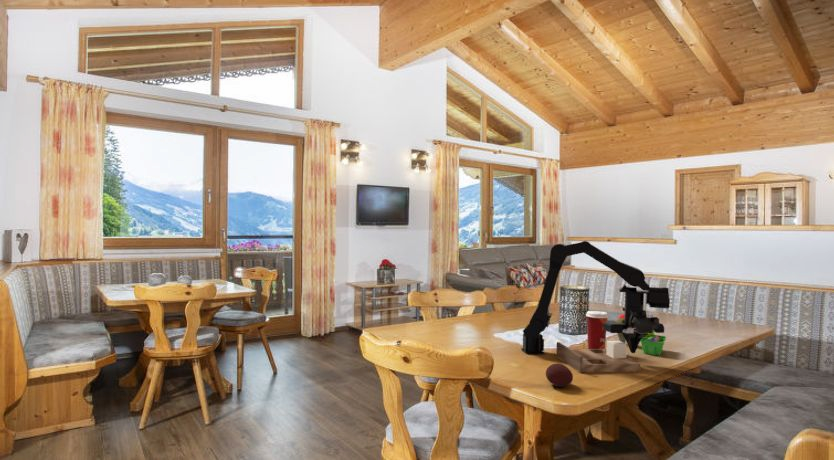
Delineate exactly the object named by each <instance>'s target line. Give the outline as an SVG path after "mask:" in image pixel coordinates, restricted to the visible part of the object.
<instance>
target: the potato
mask: <svg viewBox="0 0 834 460" xmlns="http://www.w3.org/2000/svg"><path fill="white" fill-rule="evenodd" d="M545 370H546V371H545V377H546V379H547V381H548V382H549V384H551V385H553V386H555V387H558V388H564V387H567V386H569V385H570V384H571V383H572V382H573V379H574V376H573V372H572V371H571V370H570V368H568V367H567V366H566V365H564V364H562V363H559V362H558V363H552V364H550V365H549V366H548V367H547V368H546V369H545Z"/></svg>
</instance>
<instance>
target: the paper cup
mask: <svg viewBox="0 0 834 460" xmlns="http://www.w3.org/2000/svg"><path fill="white" fill-rule="evenodd" d="M585 316H586V330H587V331H586V333H587V349H606V342H607V339H606V338H607V331H605V330H603V324H604V323H605V322H608V318H609V316H608V313H607V312H606V311H601V310H588V311H587V312H586V314H585Z"/></svg>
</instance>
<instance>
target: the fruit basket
mask: <svg viewBox="0 0 834 460" xmlns="http://www.w3.org/2000/svg"><path fill="white" fill-rule="evenodd" d="M647 334H648V335H646V336H644V337H643V338H642V339H641V341H640V342H639V343H641V347H642V351H643V354H644V355H645V354H646V355H651V356H652V355H653V356H660V355H661V353H662V350H663V348H664V346H665V345H664V344H665V341H666V339H667V336H666V335H658V334H656V332H655V331H654V330H653V333H647Z"/></svg>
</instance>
